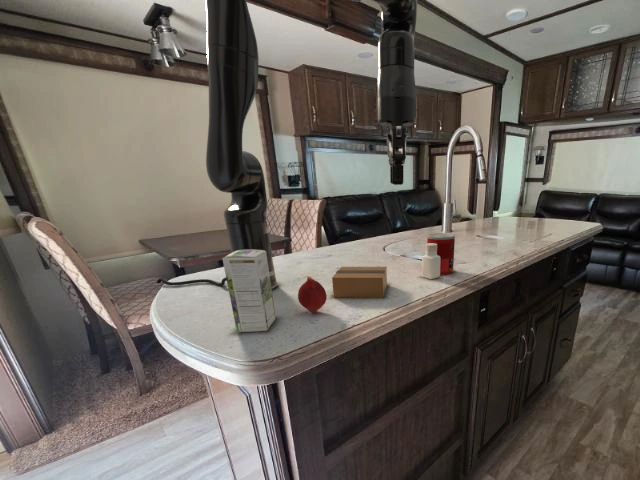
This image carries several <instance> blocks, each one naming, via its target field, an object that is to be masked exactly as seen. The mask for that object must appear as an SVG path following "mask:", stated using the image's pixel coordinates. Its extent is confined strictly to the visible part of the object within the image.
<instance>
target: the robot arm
mask: <svg viewBox="0 0 640 480" xmlns="http://www.w3.org/2000/svg"><path fill="white" fill-rule="evenodd" d="M350 1H351V2H355V3H357V2H361V1H362V0H350ZM371 1H372V2H374V3H376V4H378V5H379V8H380V13H381V34H380V35H379V38H378V42H377V82H376V83H377V84H376V92H377V95H376V96H377V98H376V99H377V123H378V124H379V125H380V126H382V127H388V128H389V133H387V134H386V146H387V157H388V165H389V176H390V177H389V179H390V181H389V182H390V184H392V185H395V186H399V185H400V186H402V185H403V184H404V165H405V163H406V158H407V156H406V155H407V140H408V137H407V136H408V135H407V134H406V132H407V128H406V127H412V126H413V125H415V122H416V121H415V120H416V77H415V34H416V25H417V16H418V15H417V14H418V0H371ZM205 11H206V31H207V32H206V54H207V55H206V58H207V75H208V76H207V77H208V128H207V139H206V140H207V141H206V154H205V168H206V173H207V177H208V179H209V181H210V182H211V184H212V186H213V187H214V188H215V189H216V190H218V191H220V192H222V193H226V194H231V201H230V203H229V205H228V206H227V207H226V208H225V209H224V210H223V219H224V223H225V228H226V233H227V238H228V242H229V246H230V252H231V253H233V252H235V251H238V250H265V251H266V255H267V262H268V268H269V275H270V281H271V288H272V290H274V289H276V288H277V286H278V282H277V277H276V271H275V266H274V259H273V254H272V252H273V251H272V247H271V241H270V234H269V227H268V222H267V210H268V197H267V190H266V181H265V174H264V169H263V167H262V164H261V162H260V161H259V159H258V158H257V157H256V156H255V155H254V154H253V153H252V152H249V151H246V150H243V133H244V125H245V121H246V119H247V116H248V114H249V112H250V109H251V107H252V105H253V102H254V100H255V98H256V95H257V91H258V85H259V60H260V59H259V48H258V42H257V37H256V32H255V27H254V24H253V22H252V18H251V14H250V11H249V6H248V3H247V0H205ZM226 282H227V279H226V277H223V278H222V279H221V282H217V281H215V280H213V279H209V278H208V279H207V278H201V279H191V280H185V281H168V280H166V279H165V278H164V277H160V278H158V279H157V281H156V284H161V283H163V284H164V285H167V286H184V285H191V284H197V283H209V284H212V285H214V286H217V287H218V286H219V287H223V286H224V285H225V284H226Z"/></svg>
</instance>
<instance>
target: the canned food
mask: <svg viewBox="0 0 640 480" xmlns="http://www.w3.org/2000/svg"><path fill="white" fill-rule="evenodd" d="M455 236H456V235H455V234H452V233H445V232H436V233H435V232H434V233H429V234H427V241H426V244H428V243H435V244H437V255H438V256H440V276H441V275H443V276H445V275H450V274H452V273H453V272H454V264H455V244H456V240H455V239H456V237H455Z"/></svg>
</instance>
